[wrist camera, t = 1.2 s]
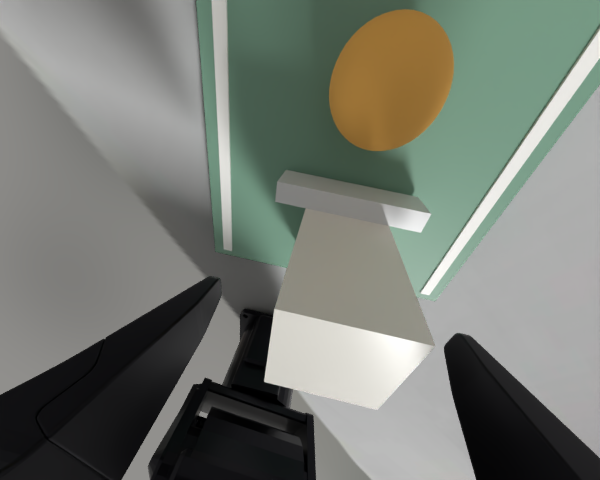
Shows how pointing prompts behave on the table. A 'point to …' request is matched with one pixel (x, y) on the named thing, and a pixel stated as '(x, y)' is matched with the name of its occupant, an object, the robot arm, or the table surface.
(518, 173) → the board
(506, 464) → the robot arm
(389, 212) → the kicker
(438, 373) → the table surface
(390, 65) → the ball
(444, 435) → the table surface
